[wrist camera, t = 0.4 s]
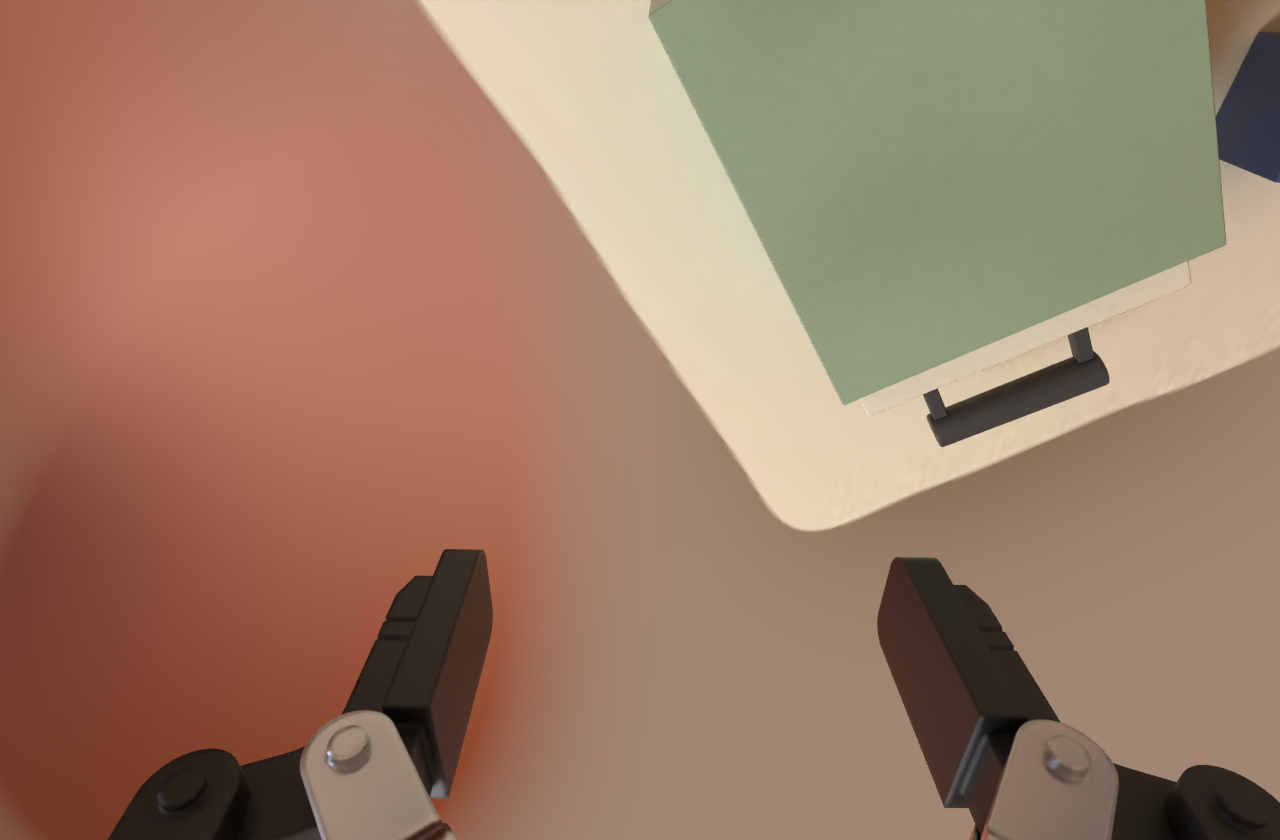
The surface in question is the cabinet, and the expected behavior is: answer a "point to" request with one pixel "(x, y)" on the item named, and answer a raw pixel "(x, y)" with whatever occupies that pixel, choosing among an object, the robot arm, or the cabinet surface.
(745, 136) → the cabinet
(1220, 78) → the cabinet surface
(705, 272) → the cabinet surface
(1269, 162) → the block
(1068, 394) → the drawer
